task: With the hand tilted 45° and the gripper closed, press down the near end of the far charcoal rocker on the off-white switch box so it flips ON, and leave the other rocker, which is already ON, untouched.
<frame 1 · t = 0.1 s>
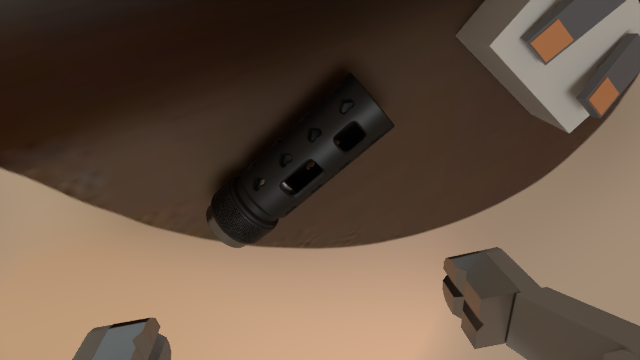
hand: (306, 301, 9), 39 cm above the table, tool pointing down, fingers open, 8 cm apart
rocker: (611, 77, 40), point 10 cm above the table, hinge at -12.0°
switch box: (534, 37, 46), on the table
muzzle brake: (291, 149, 50), on the table
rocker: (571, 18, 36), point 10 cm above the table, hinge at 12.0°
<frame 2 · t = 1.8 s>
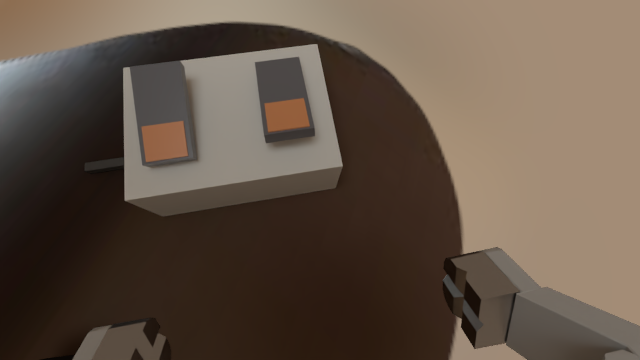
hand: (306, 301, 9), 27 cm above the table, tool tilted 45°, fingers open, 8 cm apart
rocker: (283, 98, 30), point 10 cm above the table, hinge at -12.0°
switch box: (244, 146, 39), on the table
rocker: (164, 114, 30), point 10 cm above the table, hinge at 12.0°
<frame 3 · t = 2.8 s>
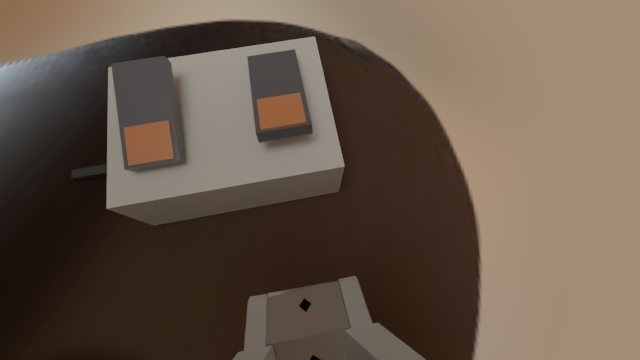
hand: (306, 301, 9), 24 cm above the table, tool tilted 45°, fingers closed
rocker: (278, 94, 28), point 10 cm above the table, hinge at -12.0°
switch box: (240, 149, 37), on the table
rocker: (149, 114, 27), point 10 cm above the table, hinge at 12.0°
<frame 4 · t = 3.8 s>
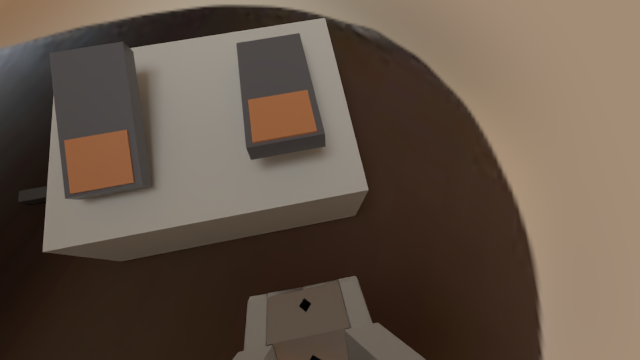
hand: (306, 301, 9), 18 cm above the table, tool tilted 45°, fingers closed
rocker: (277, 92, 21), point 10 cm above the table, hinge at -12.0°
switch box: (231, 162, 30), on the table
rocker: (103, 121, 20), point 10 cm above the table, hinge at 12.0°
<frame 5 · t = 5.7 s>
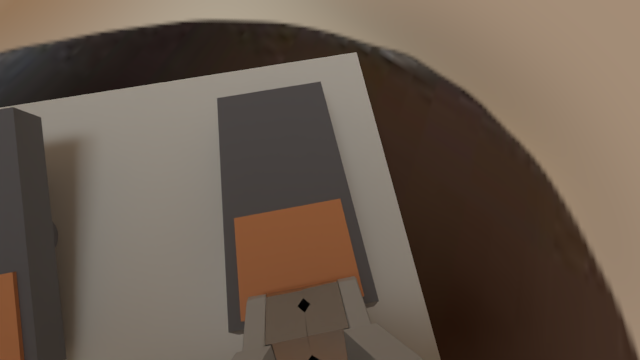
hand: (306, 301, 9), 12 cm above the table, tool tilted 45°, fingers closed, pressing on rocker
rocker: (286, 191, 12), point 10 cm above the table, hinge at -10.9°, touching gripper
switch box: (216, 247, 21), on the table
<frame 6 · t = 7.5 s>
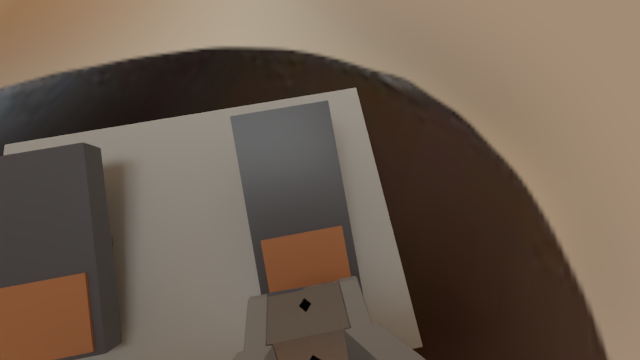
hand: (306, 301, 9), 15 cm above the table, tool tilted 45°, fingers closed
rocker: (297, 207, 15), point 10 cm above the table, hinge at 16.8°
switch box: (233, 251, 24), on the table
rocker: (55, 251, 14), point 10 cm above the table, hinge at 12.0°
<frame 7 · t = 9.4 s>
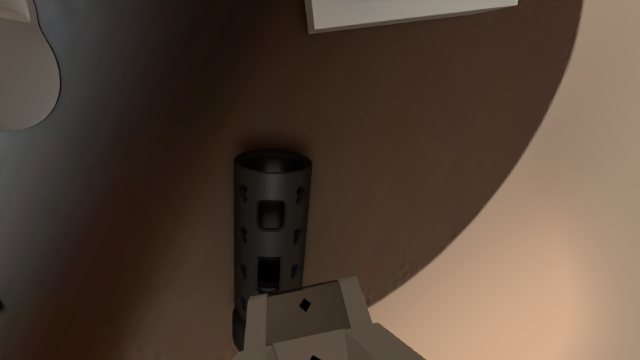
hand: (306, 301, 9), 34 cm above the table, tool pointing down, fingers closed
muzzle brake: (271, 238, 47), on the table
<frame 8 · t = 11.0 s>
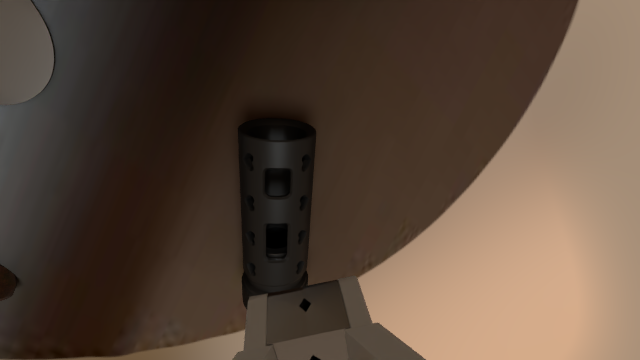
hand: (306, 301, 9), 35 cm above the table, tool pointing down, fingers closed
muzzle brake: (275, 207, 48), on the table
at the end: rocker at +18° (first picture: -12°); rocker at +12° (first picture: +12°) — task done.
